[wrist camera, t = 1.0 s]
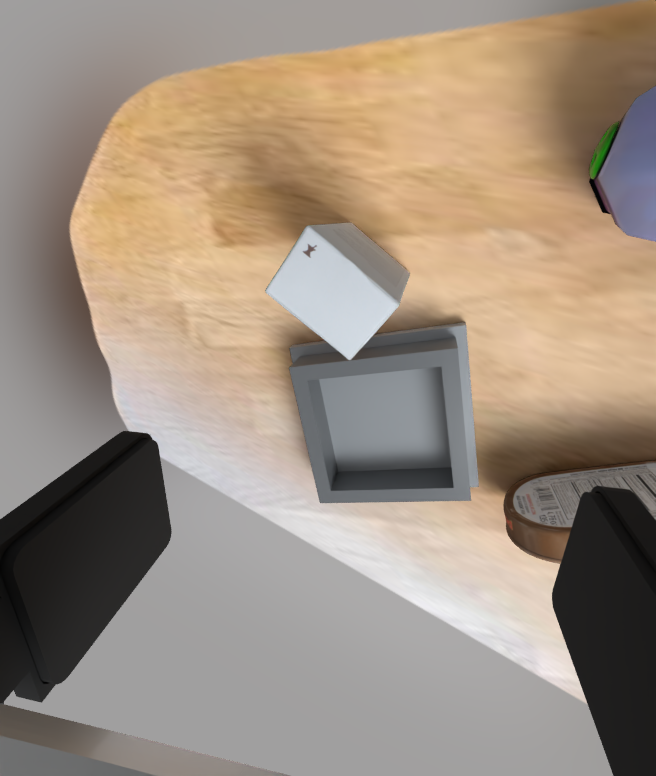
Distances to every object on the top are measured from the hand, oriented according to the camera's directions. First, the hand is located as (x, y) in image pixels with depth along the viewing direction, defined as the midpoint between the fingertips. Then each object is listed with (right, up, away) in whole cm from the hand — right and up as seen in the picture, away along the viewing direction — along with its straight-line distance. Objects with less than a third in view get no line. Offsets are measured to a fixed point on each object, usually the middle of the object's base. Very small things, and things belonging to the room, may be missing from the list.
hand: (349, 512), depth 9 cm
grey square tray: (+4, +1, +26) cm, 27 cm away
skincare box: (+2, +12, +23) cm, 26 cm away
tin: (+21, -4, +24) cm, 33 cm away
